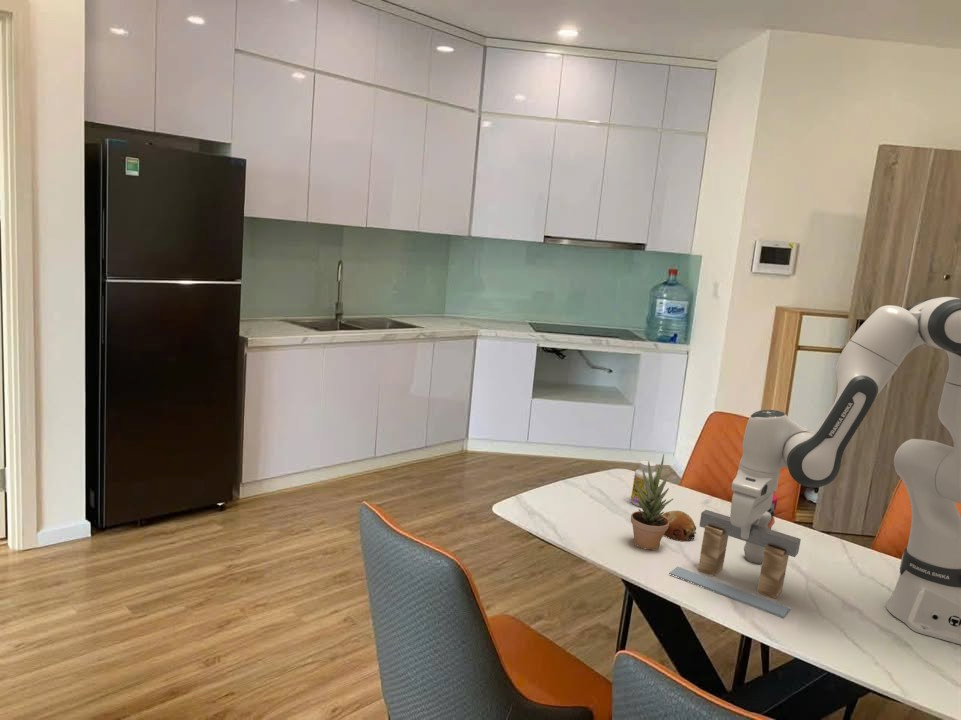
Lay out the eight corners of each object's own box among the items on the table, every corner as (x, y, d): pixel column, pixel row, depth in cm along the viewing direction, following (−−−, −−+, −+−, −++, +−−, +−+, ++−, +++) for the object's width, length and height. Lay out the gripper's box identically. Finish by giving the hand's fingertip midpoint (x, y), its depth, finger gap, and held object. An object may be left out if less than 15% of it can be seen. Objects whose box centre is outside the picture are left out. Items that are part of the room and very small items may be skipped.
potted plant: (635, 552, 180) (649, 457, 176) (622, 536, 189) (635, 446, 185) (672, 553, 182) (687, 459, 177) (658, 537, 191) (671, 448, 187)
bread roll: (683, 540, 200) (680, 511, 202) (705, 540, 191) (702, 509, 193) (652, 541, 197) (649, 511, 199) (673, 541, 188) (670, 510, 190)
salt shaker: (768, 566, 180) (777, 517, 178) (744, 562, 181) (752, 513, 179) (764, 557, 185) (772, 509, 183) (740, 553, 186) (749, 505, 184)
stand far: (722, 568, 176) (730, 525, 174) (714, 576, 171) (721, 531, 169) (706, 562, 178) (713, 520, 176) (697, 570, 174) (705, 526, 172)
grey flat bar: (789, 610, 158) (790, 608, 158) (783, 618, 154) (784, 616, 154) (677, 568, 173) (677, 566, 173) (668, 574, 169) (669, 572, 169)
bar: (798, 553, 164) (800, 538, 163) (794, 557, 161) (797, 542, 161) (703, 523, 176) (705, 509, 176) (699, 526, 174) (701, 512, 174)
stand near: (782, 589, 168) (790, 544, 166) (774, 598, 163) (783, 552, 161) (764, 583, 170) (772, 539, 168) (756, 592, 165) (765, 546, 163)
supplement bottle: (627, 499, 218) (633, 458, 216) (648, 500, 219) (654, 459, 217) (634, 507, 211) (640, 465, 209) (656, 509, 212) (662, 467, 210)
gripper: (757, 466, 176) (748, 519, 179) (729, 484, 160) (719, 543, 163) (784, 473, 173) (774, 527, 175) (758, 492, 156) (748, 552, 159)
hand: (748, 535), depth 169 cm, fingers closed on bar, 3 cm apart
